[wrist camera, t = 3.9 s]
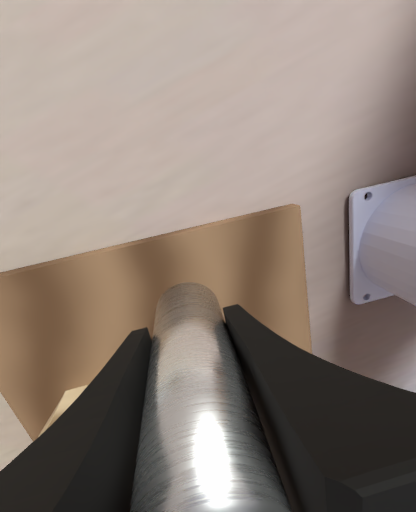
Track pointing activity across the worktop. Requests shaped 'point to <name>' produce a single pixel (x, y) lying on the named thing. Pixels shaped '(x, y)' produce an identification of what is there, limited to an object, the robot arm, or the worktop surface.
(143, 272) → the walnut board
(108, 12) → the worktop surface
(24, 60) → the worktop surface
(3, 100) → the worktop surface
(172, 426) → the steel peg
